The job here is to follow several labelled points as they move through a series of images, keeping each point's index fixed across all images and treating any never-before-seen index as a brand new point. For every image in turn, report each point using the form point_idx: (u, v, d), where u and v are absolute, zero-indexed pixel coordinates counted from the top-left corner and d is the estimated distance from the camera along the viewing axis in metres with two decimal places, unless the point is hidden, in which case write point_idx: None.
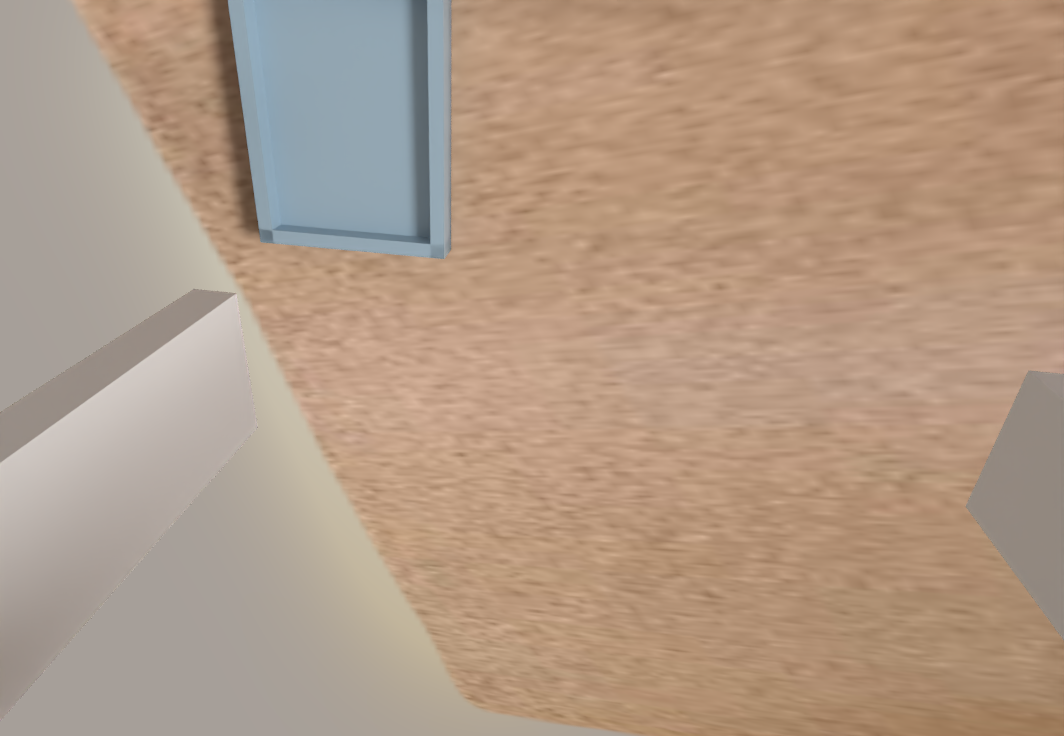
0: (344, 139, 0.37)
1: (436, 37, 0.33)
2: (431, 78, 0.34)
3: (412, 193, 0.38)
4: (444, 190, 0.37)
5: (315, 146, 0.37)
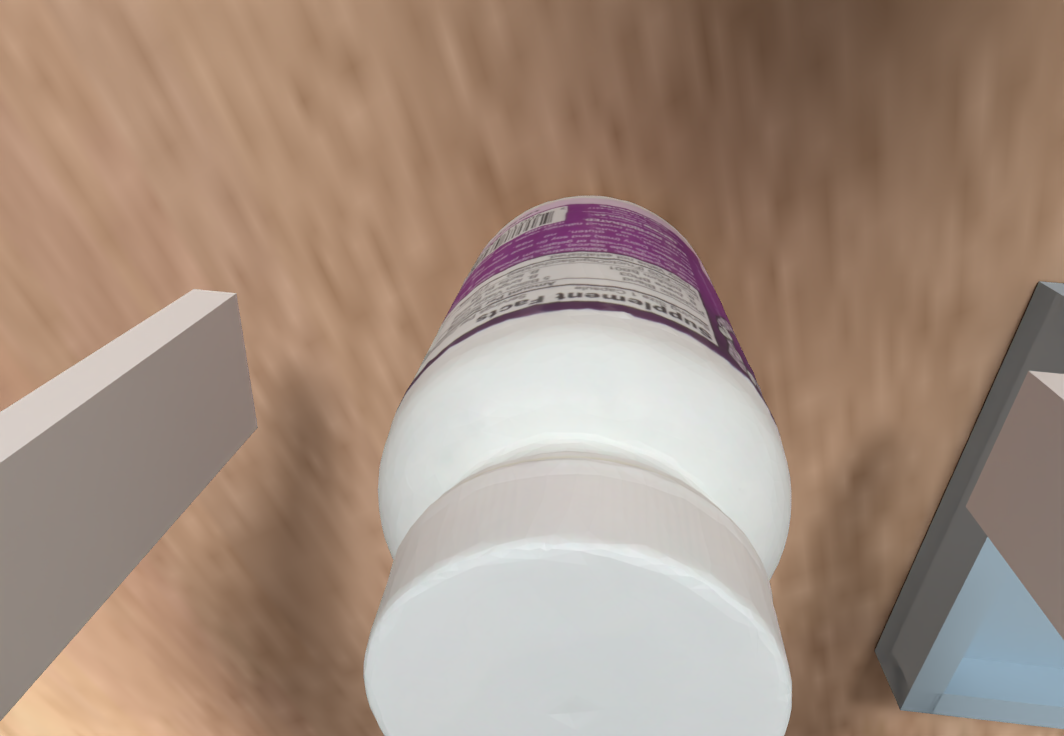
0: None
1: None
2: None
3: None
4: None
5: None
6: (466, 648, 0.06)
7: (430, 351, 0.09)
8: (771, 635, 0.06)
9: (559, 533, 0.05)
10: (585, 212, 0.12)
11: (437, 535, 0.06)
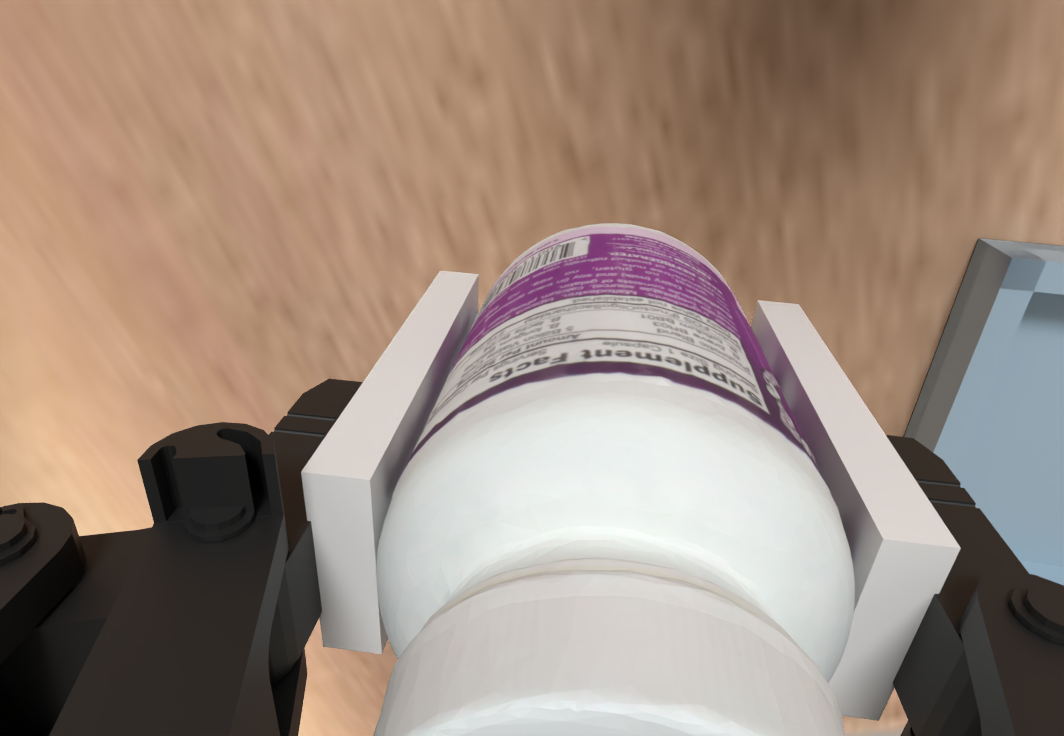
0: None
1: None
2: None
3: None
4: None
5: None
6: None
7: (437, 408, 0.08)
8: None
9: (593, 689, 0.04)
10: (610, 244, 0.11)
11: (442, 671, 0.05)
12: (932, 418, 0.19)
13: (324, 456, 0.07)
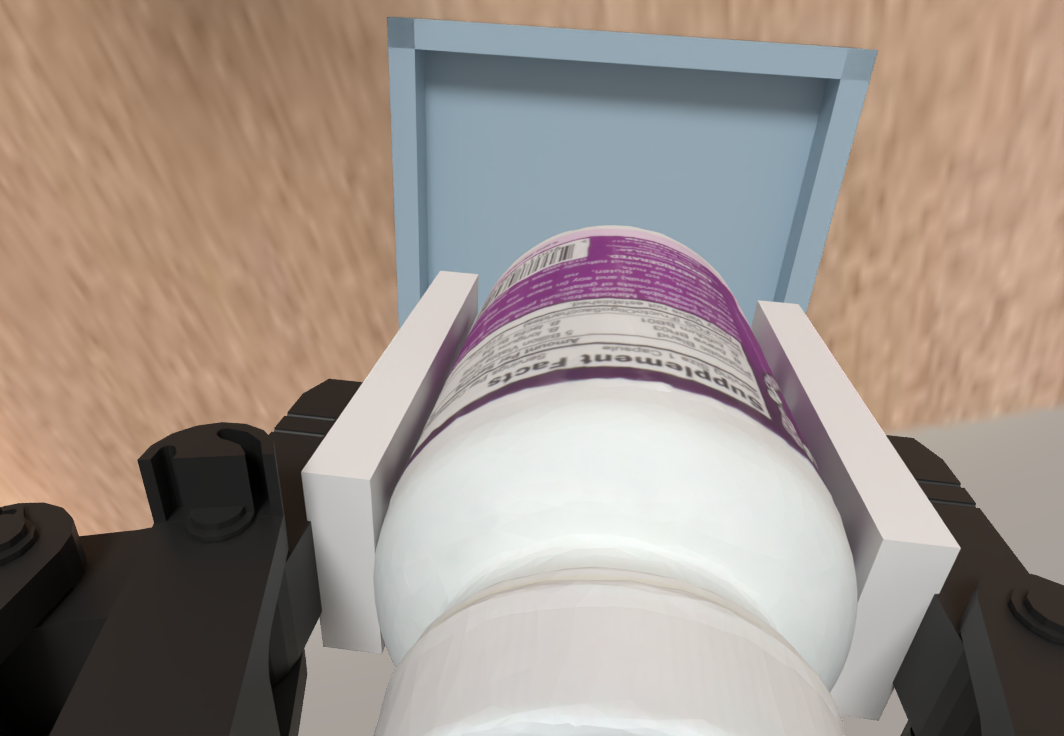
0: None
1: (472, 36, 0.19)
2: (536, 51, 0.19)
3: (735, 115, 0.21)
4: (735, 40, 0.19)
5: None
6: None
7: (435, 413, 0.08)
8: None
9: (592, 704, 0.04)
10: (610, 246, 0.11)
11: (440, 682, 0.05)
12: None
13: (324, 456, 0.07)
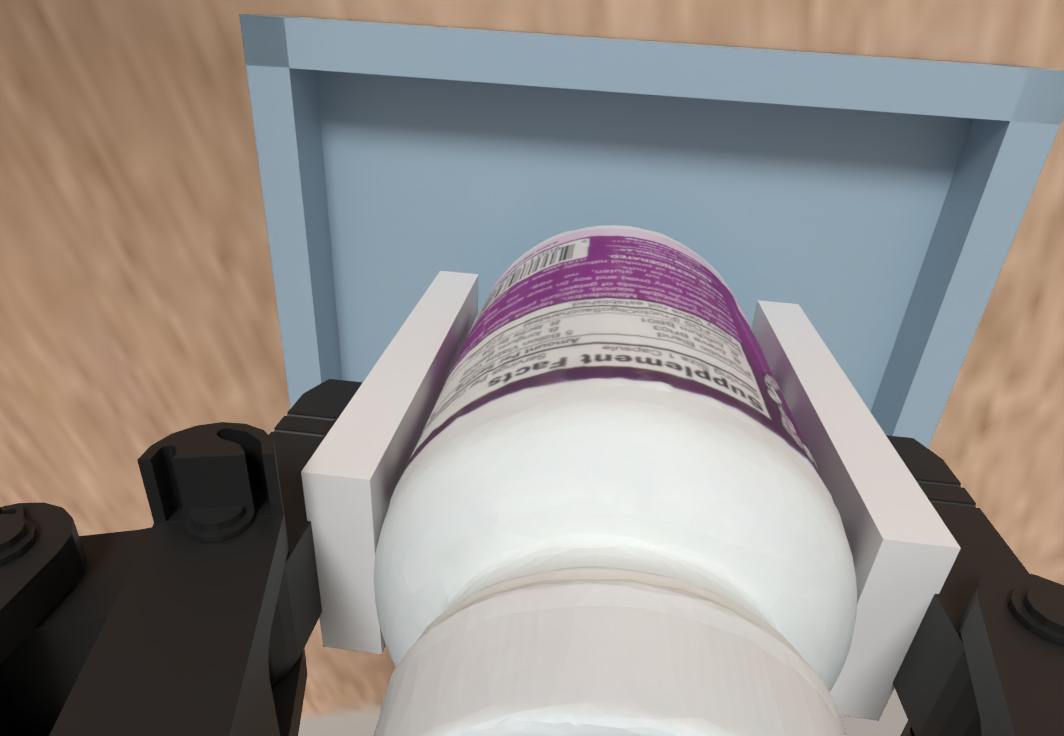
0: None
1: (383, 47, 0.12)
2: (490, 72, 0.12)
3: (816, 174, 0.13)
4: (830, 55, 0.11)
5: None
6: None
7: (435, 413, 0.08)
8: None
9: (592, 703, 0.04)
10: (610, 246, 0.11)
11: (440, 682, 0.05)
12: None
13: (324, 456, 0.07)
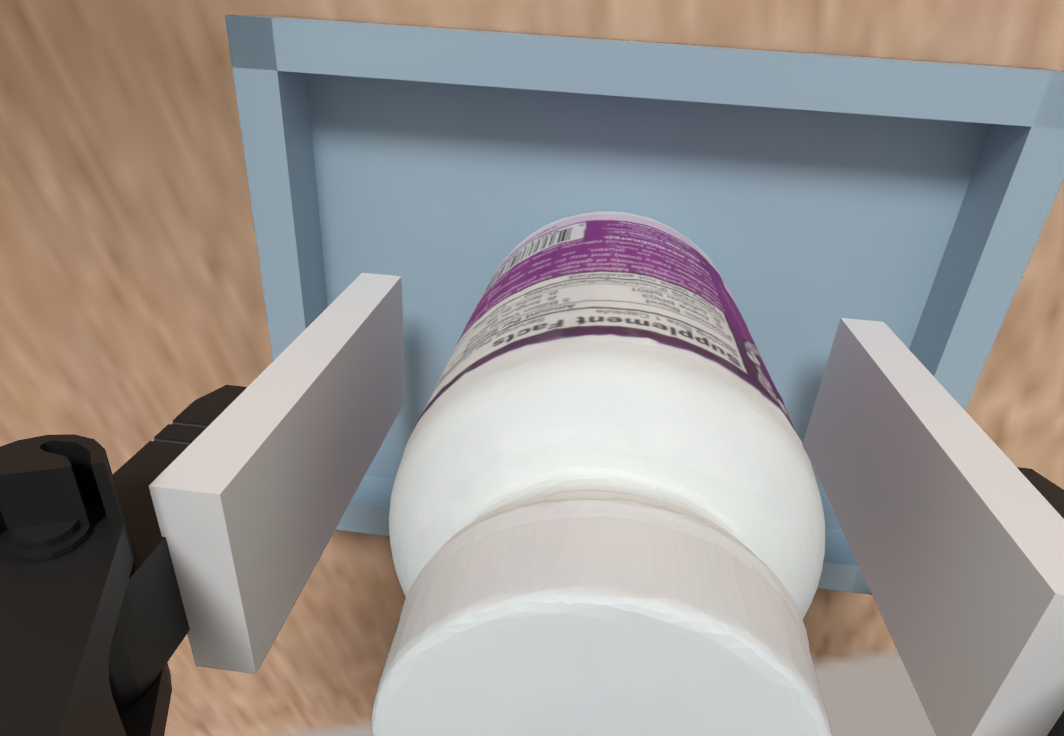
0: None
1: (374, 49, 0.11)
2: (487, 75, 0.11)
3: (827, 181, 0.12)
4: (843, 57, 0.11)
5: None
6: (481, 706, 0.05)
7: (444, 375, 0.09)
8: (813, 697, 0.05)
9: (581, 586, 0.05)
10: (604, 229, 0.11)
11: (452, 580, 0.06)
12: None
13: (179, 468, 0.07)
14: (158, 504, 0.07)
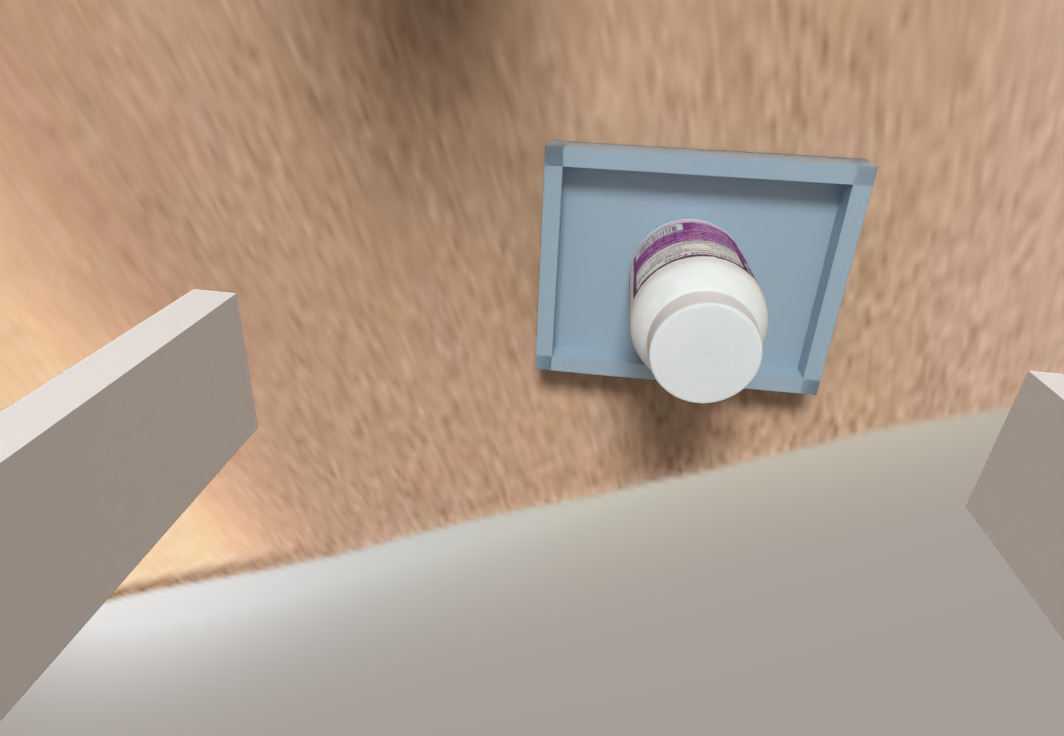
0: None
1: (602, 158, 0.29)
2: (645, 167, 0.29)
3: (780, 204, 0.30)
4: (781, 160, 0.28)
5: None
6: (680, 336, 0.23)
7: (643, 274, 0.27)
8: (756, 327, 0.23)
9: (705, 302, 0.23)
10: (690, 225, 0.29)
11: (671, 309, 0.23)
12: None
13: None
14: None
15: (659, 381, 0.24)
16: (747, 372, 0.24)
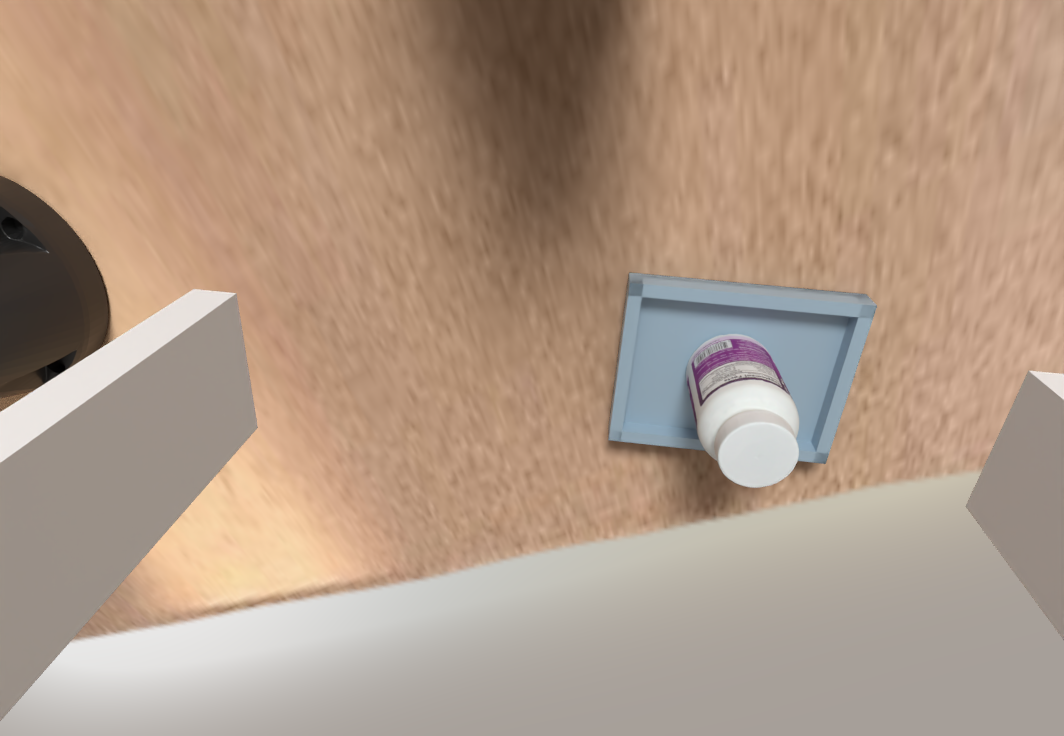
0: None
1: (672, 292, 0.39)
2: (704, 300, 0.39)
3: (803, 325, 0.40)
4: (806, 298, 0.38)
5: None
6: (741, 443, 0.33)
7: (707, 387, 0.36)
8: (795, 439, 0.33)
9: (760, 421, 0.32)
10: (737, 343, 0.39)
11: (735, 423, 0.33)
12: (619, 355, 0.42)
13: None
14: None
15: (724, 472, 0.34)
16: (787, 467, 0.33)
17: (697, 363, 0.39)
